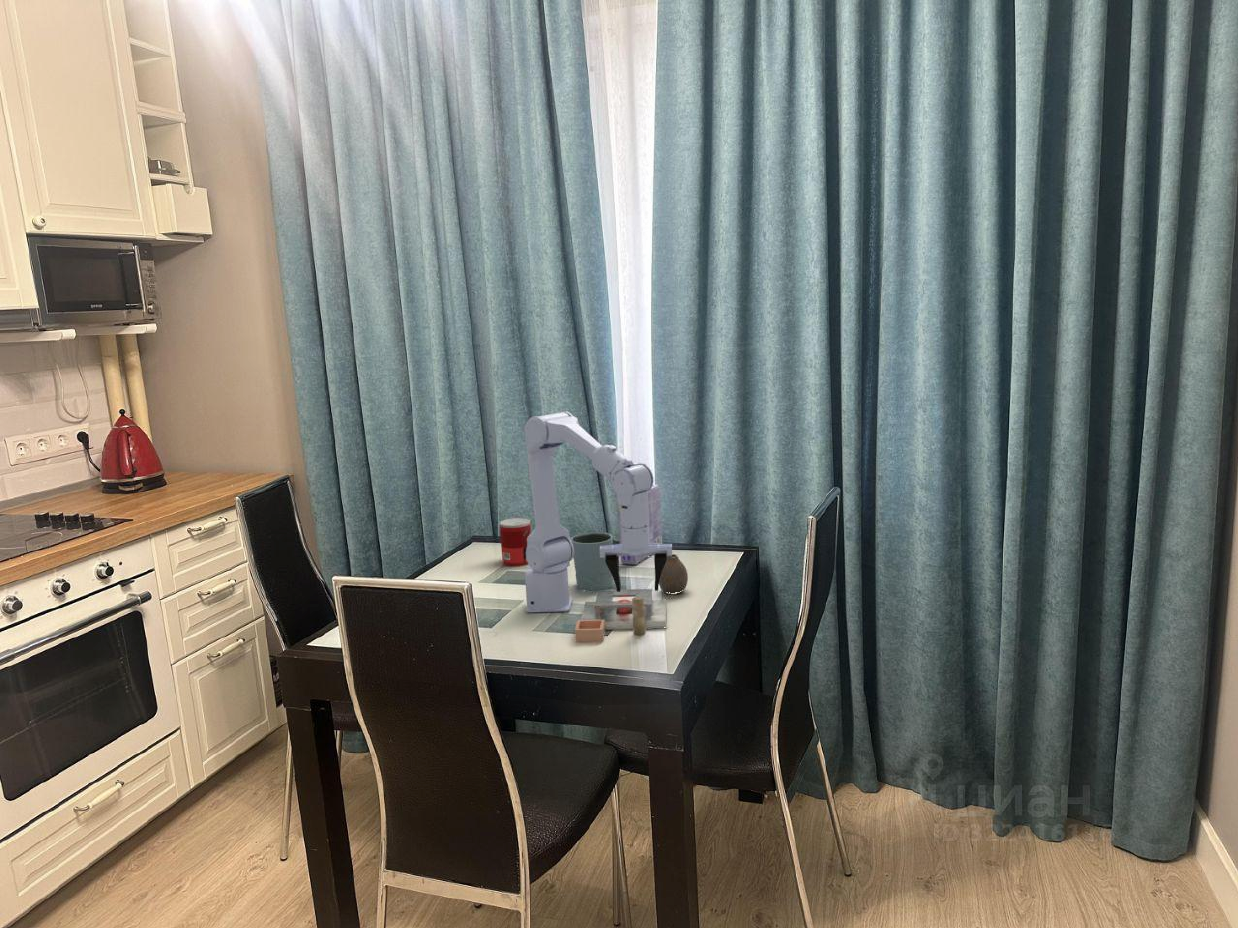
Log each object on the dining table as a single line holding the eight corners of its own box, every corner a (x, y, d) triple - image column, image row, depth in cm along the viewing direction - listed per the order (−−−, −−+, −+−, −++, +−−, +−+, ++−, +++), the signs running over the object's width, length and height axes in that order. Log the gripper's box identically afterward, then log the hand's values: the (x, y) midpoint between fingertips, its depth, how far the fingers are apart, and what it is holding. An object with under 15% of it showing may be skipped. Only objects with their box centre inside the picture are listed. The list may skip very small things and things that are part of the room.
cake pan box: (648, 544, 251) (646, 482, 248) (665, 546, 249) (663, 483, 246) (618, 565, 234) (615, 498, 231) (636, 566, 232) (633, 499, 229)
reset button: (617, 615, 195) (617, 604, 194) (618, 610, 198) (617, 599, 197) (630, 614, 195) (630, 603, 194) (631, 610, 197) (630, 599, 197)
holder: (575, 641, 184) (574, 630, 184) (578, 631, 190) (577, 620, 189) (603, 641, 184) (602, 629, 183) (605, 630, 189) (604, 619, 189)
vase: (663, 598, 208) (662, 561, 206) (654, 589, 214) (653, 553, 212) (692, 594, 209) (691, 557, 208) (682, 585, 216) (681, 549, 214)
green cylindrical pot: (610, 593, 213) (607, 543, 211) (568, 592, 215) (565, 542, 213) (618, 579, 223) (616, 531, 220) (578, 578, 225) (576, 531, 222)
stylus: (633, 635, 186) (631, 600, 185) (633, 631, 188) (632, 596, 187) (645, 635, 186) (643, 600, 185) (645, 631, 188) (644, 596, 187)
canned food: (531, 565, 237) (528, 524, 235) (500, 566, 237) (497, 526, 235) (534, 557, 244) (531, 517, 242) (504, 558, 245) (501, 518, 243)
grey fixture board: (580, 630, 190) (578, 610, 190) (585, 608, 203) (584, 589, 202) (666, 628, 189) (665, 608, 188) (666, 606, 202) (665, 587, 201)
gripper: (597, 531, 179) (600, 597, 182) (671, 529, 179) (673, 595, 181) (599, 522, 186) (603, 585, 189) (671, 520, 185) (673, 583, 188)
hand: (637, 589), depth 185 cm, fingers open, 7 cm apart
